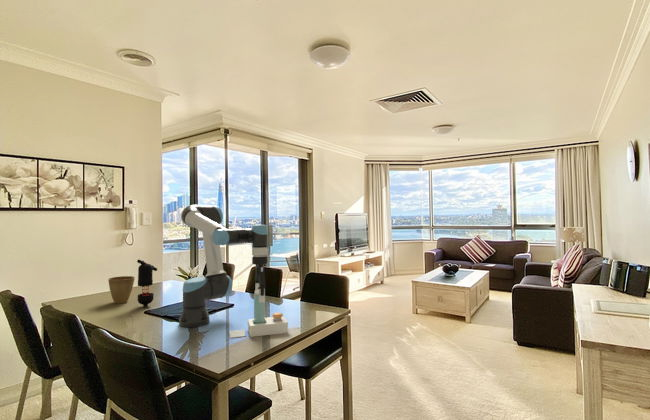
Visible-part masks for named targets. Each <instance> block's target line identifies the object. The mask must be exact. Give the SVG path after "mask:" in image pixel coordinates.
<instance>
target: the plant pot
mask: <svg viewBox="0 0 650 420" xmlns="http://www.w3.org/2000/svg"><path fill="white" fill-rule="evenodd" d="M107 280H108V287H109V292H110V295H111V297H112V301H113V303H114V304H123V303H124V304H125V303H127V302H128V301H129V299H130V296H131V293H132V291H133V287H134V282H135V280H136V279H135V276H133V275H132V276H131V275H130V276H127V275H125V276H123V275H122V276H114V277H109V278H107Z"/></svg>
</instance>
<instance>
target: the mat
mask: <svg viewBox="0 0 650 420" xmlns="http://www.w3.org/2000/svg"><path fill="white" fill-rule="evenodd" d="M245 331H246V330H245V329H237V330H236V329H235V330H229V337H230V338H229V339H236V338H245V337H246V332H245Z"/></svg>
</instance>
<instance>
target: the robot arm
mask: <svg viewBox="0 0 650 420" xmlns="http://www.w3.org/2000/svg"><path fill="white" fill-rule="evenodd" d="M180 218H181V222H182V223H183V224H184V225H186V226H188V227H189V228H195V229H196V230H198V231H200V232H202V238H203V241H202V242H203V248H204V254H205V255H204V256H205V263H206V270H207V271H206V272H207V273H206V275H205V276H198V277H193V278H188V279H187V280H185V281H184V282H183V283H182V284H183V285H182V309H181V310H182V312H181V314H180V317H179V319H178V325H179V326H180V327H183V328H198V327H202V326H205V325H207V324H209V323H210V321H211V319H210V315H209V312H208V309H207V301H213V300H217V299H222V298H225V297H228V296H229V295H230V294H231V292H232V290H233V280H232V278H231V276H229V275H228V274H227V271H225V270H224V265H223V259H222V251H221V246H226V245H238V244H239V245H240V244H251V245H252V247H251V255H252V257H251V263H252V264H253V265H255V271H254V272H255V275H254V281H255V286H254V287H255V290H254V292H255V291H256V290H259V303H262V302H265V303H266V287H267V286H266V276H265V275H266V274H265V272H266V271H265V269H266V267H265V266H264V265H266V264H267V265H268V259H269V257H268V252H269V250H270V249H269V248H268V243H269V242H268V239H269V237H268V235H269V232H268V225H267V224H253V225H251V228H247V227H242V228H227V227H225V226H224V225H223V226H222V225H221V224H222V223H223V219H224V214H223V211H222V209H221V207H219V206H218V205H212V204H190V205H188V206H186V207H184V209H183V210H182V211H181V215H180Z"/></svg>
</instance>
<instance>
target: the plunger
mask: <svg viewBox="0 0 650 420" xmlns="http://www.w3.org/2000/svg"><path fill="white" fill-rule="evenodd" d="M283 315H284V314H283V313H282V312H274V313H272V317H273V318H274V322H275V321H281V317H283Z"/></svg>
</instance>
